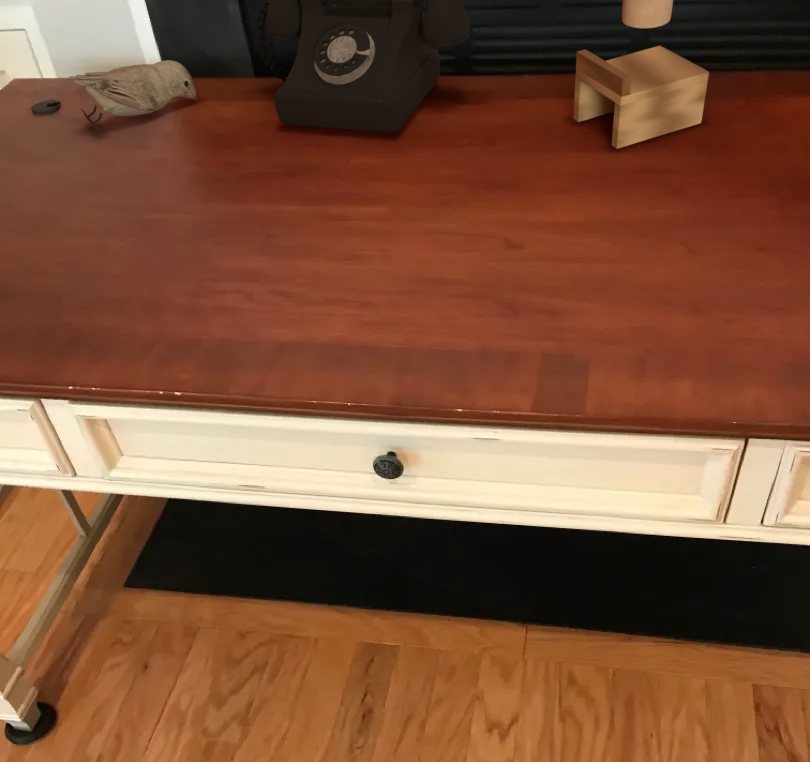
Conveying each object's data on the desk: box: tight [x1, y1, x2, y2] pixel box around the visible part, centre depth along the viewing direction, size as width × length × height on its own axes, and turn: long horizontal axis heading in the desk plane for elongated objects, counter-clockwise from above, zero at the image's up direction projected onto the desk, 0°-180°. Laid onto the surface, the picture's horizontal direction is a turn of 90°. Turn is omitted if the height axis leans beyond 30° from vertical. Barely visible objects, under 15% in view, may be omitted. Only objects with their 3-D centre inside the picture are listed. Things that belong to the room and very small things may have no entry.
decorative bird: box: [68, 59, 197, 135], centre depth 123 cm, size 5×16×8 cm, turn 119°
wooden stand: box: [572, 45, 710, 149], centre depth 109 cm, size 12×10×8 cm
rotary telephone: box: [253, 0, 471, 133], centre depth 116 cm, size 30×17×15 cm, turn 70°
